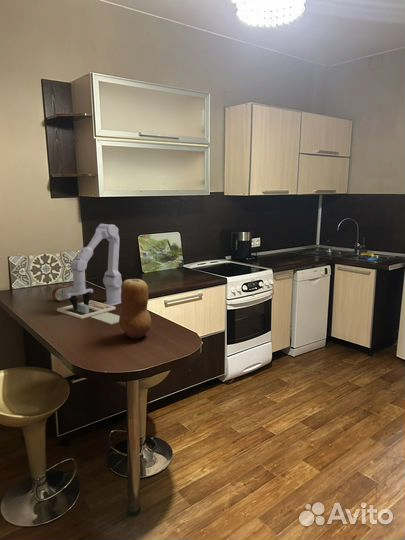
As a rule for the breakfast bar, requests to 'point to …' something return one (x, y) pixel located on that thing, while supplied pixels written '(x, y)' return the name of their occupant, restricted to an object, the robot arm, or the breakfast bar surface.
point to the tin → (62, 292)
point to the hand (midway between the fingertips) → (80, 308)
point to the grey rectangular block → (82, 308)
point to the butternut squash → (134, 308)
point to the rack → (89, 308)
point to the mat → (107, 318)
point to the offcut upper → (97, 306)
